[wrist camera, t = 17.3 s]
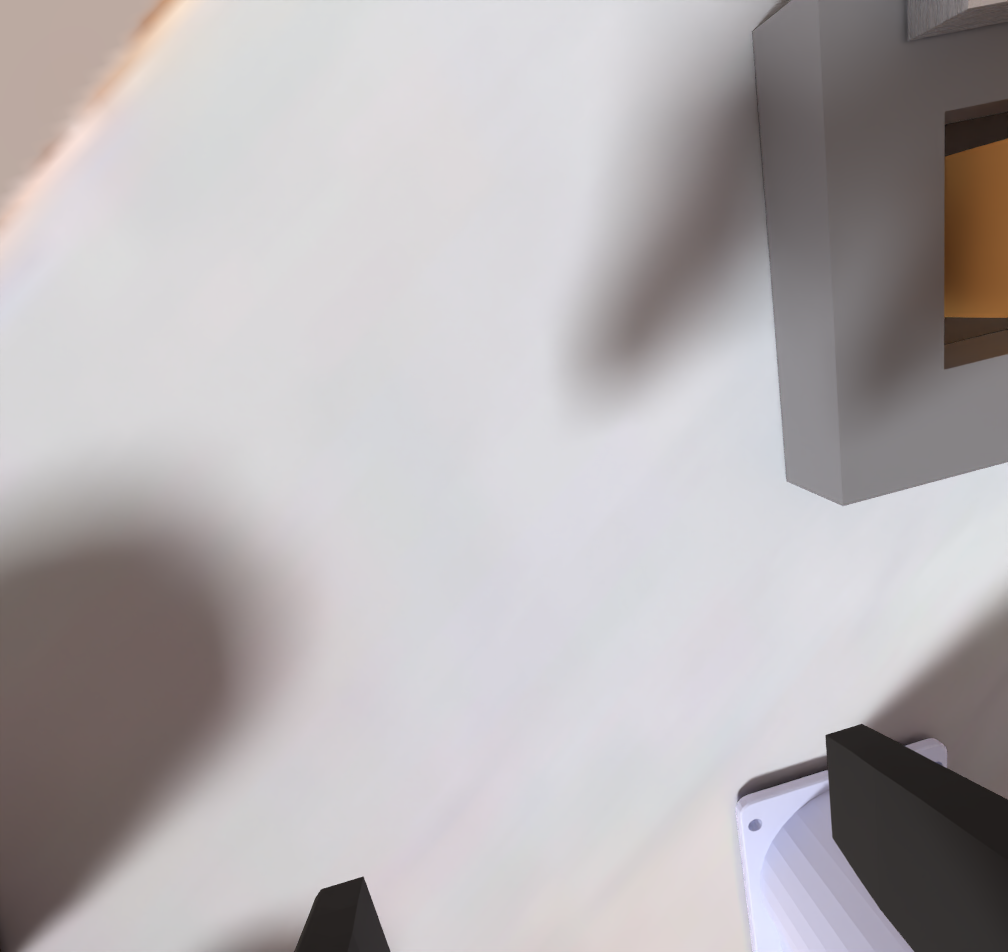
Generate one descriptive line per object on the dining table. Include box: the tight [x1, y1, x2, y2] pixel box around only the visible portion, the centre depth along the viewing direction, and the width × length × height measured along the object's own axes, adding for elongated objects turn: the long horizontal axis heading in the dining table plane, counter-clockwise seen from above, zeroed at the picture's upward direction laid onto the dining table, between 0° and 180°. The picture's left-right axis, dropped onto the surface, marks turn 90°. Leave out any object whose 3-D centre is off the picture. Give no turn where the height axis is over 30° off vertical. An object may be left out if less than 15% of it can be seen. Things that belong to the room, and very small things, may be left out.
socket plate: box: [752, 0, 1008, 506], centre depth 16 cm, size 12×12×2 cm
